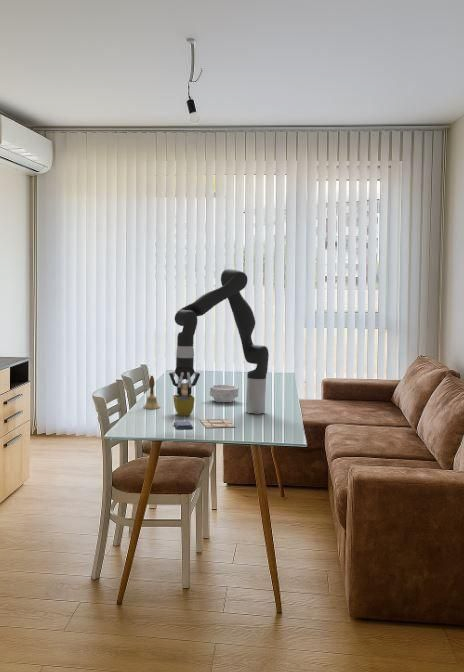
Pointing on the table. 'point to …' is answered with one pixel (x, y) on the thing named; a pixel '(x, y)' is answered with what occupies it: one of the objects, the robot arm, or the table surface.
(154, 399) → the hand bell
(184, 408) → the flower pot
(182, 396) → the stamp
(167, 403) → the table surface
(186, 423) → the ink pad
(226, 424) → the sheet
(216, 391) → the stone bowl
